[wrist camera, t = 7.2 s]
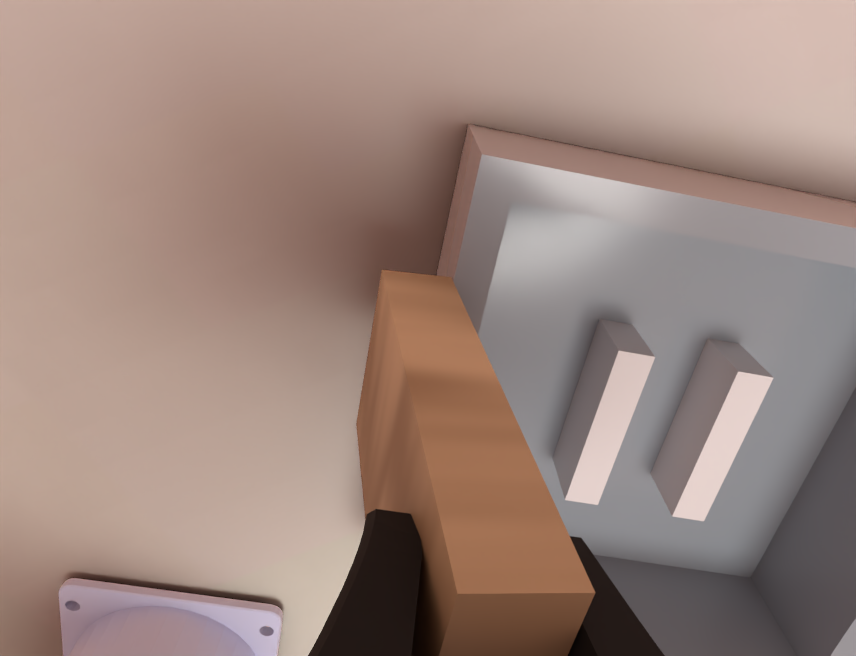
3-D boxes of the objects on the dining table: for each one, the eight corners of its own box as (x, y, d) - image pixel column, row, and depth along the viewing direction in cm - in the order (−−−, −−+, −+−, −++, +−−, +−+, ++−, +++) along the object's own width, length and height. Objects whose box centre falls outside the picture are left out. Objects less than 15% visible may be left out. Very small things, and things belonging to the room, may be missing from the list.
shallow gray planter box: (755, 585, 23) (825, 702, 19) (382, 531, 22) (372, 643, 18) (959, 223, 18) (1120, 280, 14) (467, 123, 16) (481, 154, 12)
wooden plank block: (418, 427, 15) (504, 797, 8) (356, 423, 15) (393, 807, 8) (451, 277, 14) (594, 592, 7) (381, 269, 13) (458, 593, 6)
